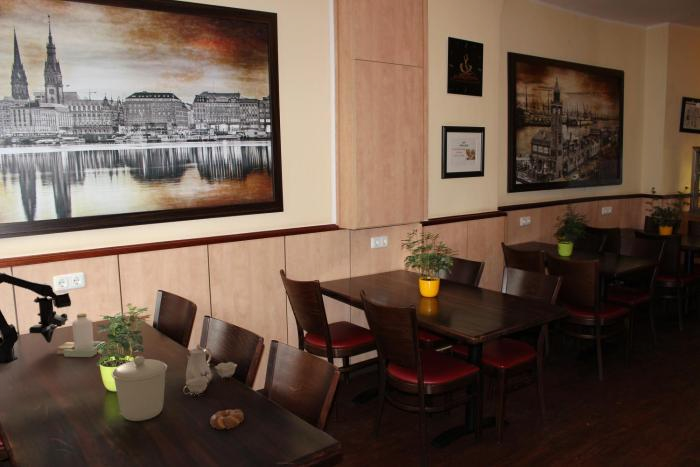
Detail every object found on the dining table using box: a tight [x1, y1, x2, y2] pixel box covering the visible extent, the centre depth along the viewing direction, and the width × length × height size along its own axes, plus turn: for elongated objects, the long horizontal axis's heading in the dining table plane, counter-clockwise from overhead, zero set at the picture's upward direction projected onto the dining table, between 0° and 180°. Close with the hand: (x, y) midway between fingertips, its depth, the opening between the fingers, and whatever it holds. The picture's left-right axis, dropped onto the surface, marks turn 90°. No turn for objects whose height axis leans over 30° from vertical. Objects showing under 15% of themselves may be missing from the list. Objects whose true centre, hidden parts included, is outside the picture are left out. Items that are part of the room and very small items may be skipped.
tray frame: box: [63, 341, 106, 358], centre depth 266 cm, size 13×13×3 cm
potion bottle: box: [71, 313, 95, 350], centre depth 265 cm, size 8×8×18 cm
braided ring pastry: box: [209, 408, 245, 430], centre depth 191 cm, size 12×11×4 cm
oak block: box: [56, 341, 74, 355], centre depth 267 cm, size 8×7×4 cm
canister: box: [111, 355, 168, 422], centre depth 197 cm, size 18×18×21 cm
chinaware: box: [182, 343, 238, 396], centre depth 224 cm, size 28×17×17 cm, turn 160°
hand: (49, 342), depth 268 cm, fingers closed
